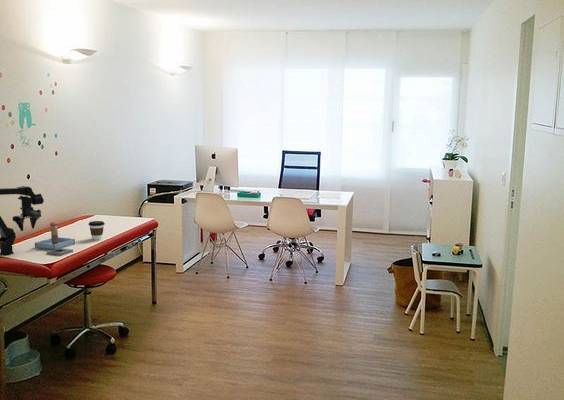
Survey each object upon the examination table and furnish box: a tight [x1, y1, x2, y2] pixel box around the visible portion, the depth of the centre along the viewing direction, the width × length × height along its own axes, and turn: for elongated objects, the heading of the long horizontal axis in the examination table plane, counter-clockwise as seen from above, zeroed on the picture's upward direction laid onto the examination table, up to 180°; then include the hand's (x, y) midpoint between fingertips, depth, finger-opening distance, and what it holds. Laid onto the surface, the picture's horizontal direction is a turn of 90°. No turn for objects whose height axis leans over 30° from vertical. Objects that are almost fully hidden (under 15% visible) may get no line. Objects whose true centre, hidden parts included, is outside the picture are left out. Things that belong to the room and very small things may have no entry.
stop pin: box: [49, 221, 59, 245], centre depth 364 cm, size 5×5×15 cm
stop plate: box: [46, 247, 74, 257], centre depth 347 cm, size 11×11×2 cm
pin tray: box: [34, 236, 76, 251], centre depth 365 cm, size 20×16×4 cm
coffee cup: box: [88, 220, 106, 241], centre depth 388 cm, size 11×11×12 cm
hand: (27, 229), depth 352 cm, fingers open, 9 cm apart
